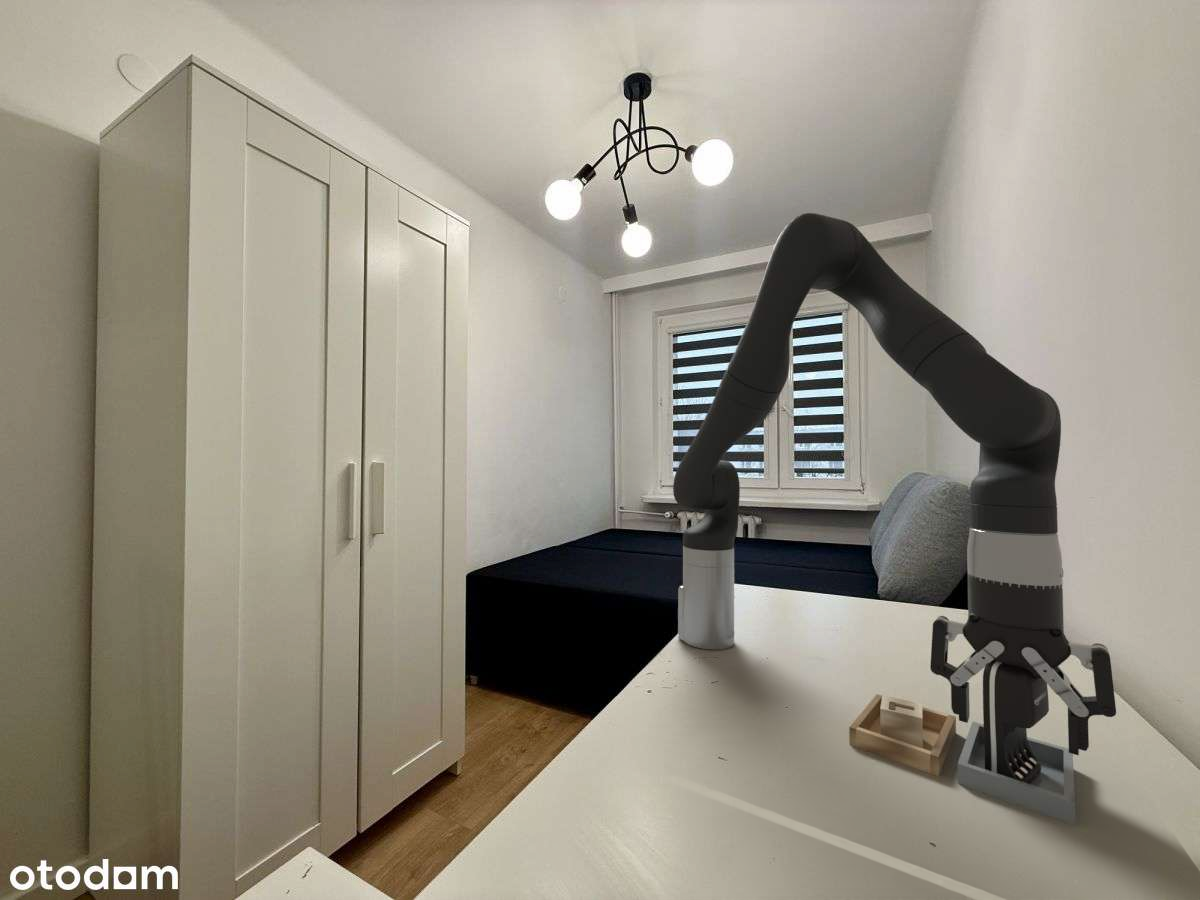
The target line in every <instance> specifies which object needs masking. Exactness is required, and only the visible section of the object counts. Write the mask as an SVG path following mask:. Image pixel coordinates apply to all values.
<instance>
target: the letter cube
mask: <svg viewBox="0 0 1200 900" xmlns="http://www.w3.org/2000/svg"><path fill="white" fill-rule="evenodd" d="M881 695H882V701H881V707H880V729H881V735H884V736H887V737H890V738H893V739H896V740H899V741H902V742H905V743H908V744H911V745H914V746H917V747H920V748H923V715H922V707H923V703H920V702H915V701H911V700H906V699H903V698H902V699H901V698H897V697H892V696H890V695H889V696H888V695H884V694H881Z"/></svg>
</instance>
